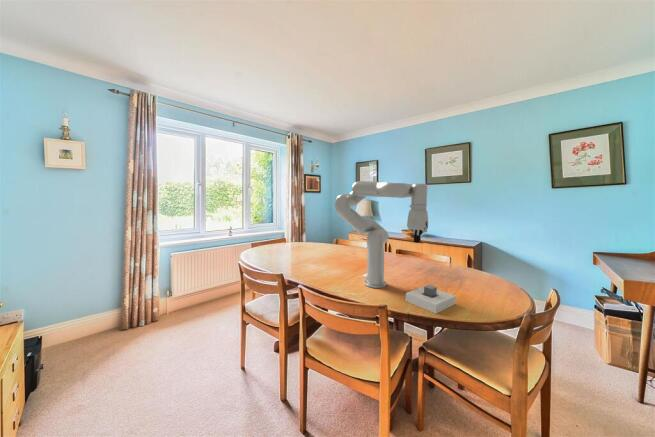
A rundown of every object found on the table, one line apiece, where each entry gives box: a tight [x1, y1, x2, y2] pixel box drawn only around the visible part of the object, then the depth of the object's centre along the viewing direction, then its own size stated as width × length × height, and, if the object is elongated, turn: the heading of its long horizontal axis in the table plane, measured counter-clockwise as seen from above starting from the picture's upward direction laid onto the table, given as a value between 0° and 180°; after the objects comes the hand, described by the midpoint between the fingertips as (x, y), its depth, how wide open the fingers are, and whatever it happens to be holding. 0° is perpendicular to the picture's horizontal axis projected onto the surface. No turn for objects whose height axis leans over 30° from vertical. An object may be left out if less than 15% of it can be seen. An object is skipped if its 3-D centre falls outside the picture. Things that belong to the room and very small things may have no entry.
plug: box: [423, 284, 438, 298], centre depth 119 cm, size 4×4×8 cm
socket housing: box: [405, 286, 456, 314], centre depth 120 cm, size 16×16×4 cm
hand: (416, 242), depth 131 cm, fingers closed
